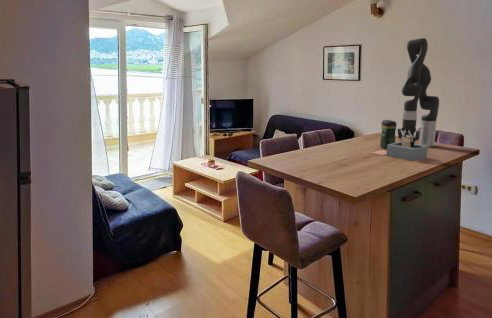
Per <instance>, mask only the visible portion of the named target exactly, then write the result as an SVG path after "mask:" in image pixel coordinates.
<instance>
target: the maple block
mask: <svg viewBox="0 0 492 318" xmlns="http://www.w3.org/2000/svg"><path fill="white" fill-rule="evenodd" d="M401 141H402V146H403V147H409V148H411V138H410V136H408V135H407V136H406V137H402V140H401ZM413 148H414V147H413Z"/></svg>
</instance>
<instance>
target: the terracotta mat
mask: <svg viewBox="0 0 492 318" xmlns="http://www.w3.org/2000/svg"><path fill="white" fill-rule="evenodd" d="M369 153H370V154H372V155H376V156H382V157H383V156H387V150H386V149H385V150H383V149H379V150H376V151H370V152H369Z"/></svg>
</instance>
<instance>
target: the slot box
mask: <svg viewBox="0 0 492 318" xmlns="http://www.w3.org/2000/svg"><path fill="white" fill-rule="evenodd" d="M428 149H429V147H428V146H424V145H419V143H418V144H417V143H415V144H414V148H409V147H403V146H402V145H401V141H397V142H395V143H393V144H388V145H387V149H386V151H387V155H386V157H390V158H395V159H400V160H404V161H405V160H407V161H411V162H416V161H420V160H423V159H427V157H428Z"/></svg>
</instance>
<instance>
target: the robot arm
mask: <svg viewBox="0 0 492 318" xmlns="http://www.w3.org/2000/svg"><path fill="white" fill-rule="evenodd" d="M428 47H429V45H428V40H427V38H425V37H421V38H416V39H415V38H414V39H410V40H409V41H407V44H406V50H407V54H408V57H409V60H410V62H411V65H409V68H408V72H407V78H406V80H405V82H404V84H403V86H402V88H401V94H402V95H403V96H404V97H413V98H412V99H409V100H405V101H404V103H403V104H404V105H403V113H402V128H398V129H397V128H396V129H397V130H396V131H397V136H398V139H400V142H401V145H402V137H406V136H408V137H410V138H411V148H413V147H414V144H416V143H415V142H416V141H419V143H418V145H424V146H428V148H430V147H431V148H432V147H435V142H436V140H435V139H436V131H437V130H436V128H437V119H438V115H439V108H440V107H439V106H440V98H439V97H438V96H435V95H427V89H428V87H429V86H430V83H431V82H432V76H431V71H430V69H429V67H428V66H427V65H426V64H424V61H425V59H426V56H427V52H428ZM418 101H419V106H420V109H422V110H424V111H429V113H427V114H424V115H422V116H421V122H420V130H417V128H416V127H417V120H418V119H417V118H418V117H417V115H418V113H417V112H418Z"/></svg>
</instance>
